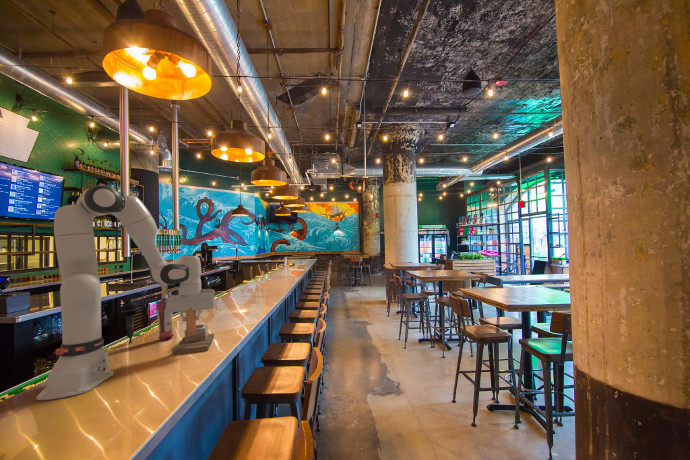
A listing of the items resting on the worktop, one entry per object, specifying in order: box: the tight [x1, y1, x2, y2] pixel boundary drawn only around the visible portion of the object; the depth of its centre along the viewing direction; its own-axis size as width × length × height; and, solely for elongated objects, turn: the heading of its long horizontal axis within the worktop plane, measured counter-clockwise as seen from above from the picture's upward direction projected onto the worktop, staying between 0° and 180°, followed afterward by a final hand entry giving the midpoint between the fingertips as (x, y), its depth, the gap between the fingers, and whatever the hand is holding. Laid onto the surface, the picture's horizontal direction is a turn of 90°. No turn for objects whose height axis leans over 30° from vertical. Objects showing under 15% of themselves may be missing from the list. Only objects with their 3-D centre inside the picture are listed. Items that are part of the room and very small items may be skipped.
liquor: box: [156, 284, 174, 341], centre depth 164 cm, size 7×7×28 cm
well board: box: [172, 323, 215, 356], centre depth 150 cm, size 22×14×8 cm, turn 16°
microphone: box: [120, 302, 139, 344], centre depth 159 cm, size 7×7×20 cm
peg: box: [185, 308, 197, 335], centre depth 145 cm, size 4×4×12 cm
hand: (191, 320), depth 145 cm, fingers closed on peg, 4 cm apart
